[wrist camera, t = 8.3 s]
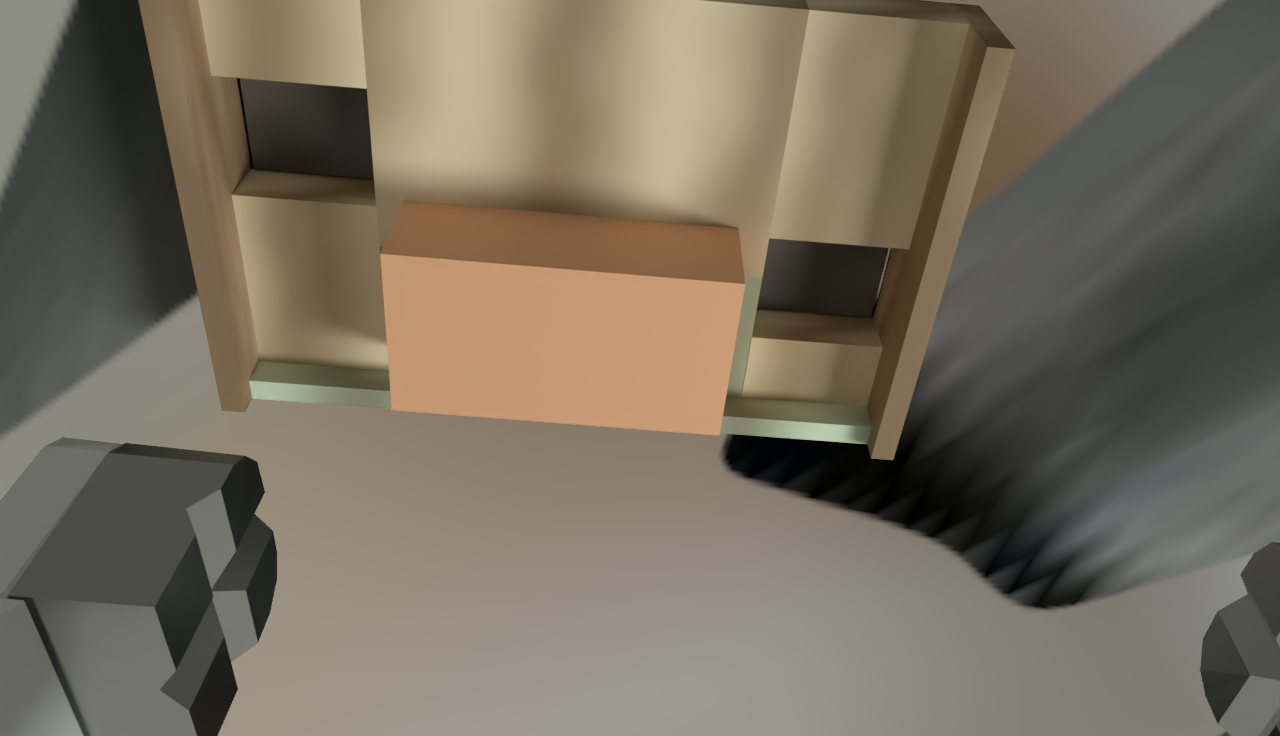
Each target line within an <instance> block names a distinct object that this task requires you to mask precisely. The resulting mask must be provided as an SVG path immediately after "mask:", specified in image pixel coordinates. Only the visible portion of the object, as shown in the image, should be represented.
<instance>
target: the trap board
mask: <svg viewBox="0 0 1280 736" xmlns="http://www.w3.org/2000/svg"><path fill="white" fill-rule="evenodd" d="M138 1H139V6H140V11H141V16H142V21H143V26H144V30H145V35H146V40H147V45H148V50H149V55H150V60H151V65H152V70H153V75H154V79H155V84H156V89H157V94H158V99H159V104H160V109H161V114H162V119H163V124H164V128H165V133H166V138H167V143H168V148H169V153H170V158H171V163H172V168H173V173H174V177H175V182H176V187H177V192H178V197H179V202H180V207H181V212H182V217H183V222H184V226H185V231H186V236H187V241H188V246H189V251H190V256H191V261H192V266H193V270H194V275H195V280H196V285H197V290H198V295H199V300H200V305H201V310H202V315H203V319H204V324H205V329H206V334H207V339H208V344H209V349H210V354H211V359H212V363H213V368H214V373H215V378H216V383H217V388H218V393H219V397H220V403H221V408H222V411H235V412H245V411H246V409H247V407H248V405H249V404H250V402H251V400H252V398H253V399H268V400H280V401H295V402H308V403H322V404H335V405H349V406H361V407H375V408H388V409H392V405H391V392H390V378H389V365H388V352H387V338H386V325H385V312H384V298H383V285H382V272H381V258H380V253H381V251H382V249H383V246H384V244H385V242H386V240H387V237H388V235H389V233H390V231H391V228H392V226H393V224H394V222H395V220H396V217H397V215H398V213H399V211H400V208H401V206H402V204H403V202H404V200H408V201H420V202H432V203H443V204H455V205H467V206H479V207H490V208H502V209H514V210H526V211H538V212H549V213H561V214H573V215H585V216H596V217H608V218H620V219H632V220H643V221H655V222H667V223H679V224H691V225H702V226H714V227H726V228H738V229H739V236H740V244H741V252H742V260H743V268H744V277H745V290H744V295H743V301H742V307H741V313H740V319H739V325H738V330H737V336H736V342H735V348H734V354H733V360H732V365H731V371H730V377H729V383H728V389H727V395H726V400H725V406H724V412H723V418H722V424H721V430H720V433H725V434H739V435H752V436H766V437H779V438H793V439H806V440H820V441H833V442H847V443H860V444H868V448H869V452H870V456H871V458H873V459H886V460H893V458H894V455H895V452H896V448H897V445H898V442H899V438H900V435H901V432H902V428H903V425H904V422H905V418H906V415H907V411H908V408H909V405H910V401H911V398H912V395H913V391H914V388H915V385H916V381H917V378H918V375H919V371H920V368H921V365H922V361H923V358H924V355H925V351H926V348H927V345H928V341H929V338H930V335H931V331H932V328H933V325H934V321H935V318H936V315H937V311H938V308H939V305H940V301H941V298H942V295H943V291H944V288H945V285H946V281H947V278H948V275H949V271H950V268H951V265H952V261H953V258H954V255H955V251H956V248H957V245H958V241H959V238H960V235H961V231H962V228H963V225H964V221H965V218H966V215H967V211H968V208H969V205H970V201H971V198H972V195H973V191H974V188H975V184H976V181H977V178H978V174H979V171H980V167H981V164H982V161H983V158H984V155H985V151H986V148H987V144H988V141H989V138H990V134H991V131H992V128H993V124H994V121H995V118H996V115H997V111H998V108H999V105H1000V101H1001V98H1002V94H1003V91H1004V88H1005V85H1006V81H1007V78H1008V75H1009V71H1010V67H1011V65H1012V61H1013V58H1014V55H1015V51H1016V49H1015V48H1014V46H1013V45H1012V44H1011V43H1010V42H1009V40H1008V39H1007V38H1006V37H1005V36H1004V34H1003V33H1002V32H1001V31H1000V30H999V29H998V27H997V26H996V25H995V24H994V22H992V20H991V19H990V18H989V17H988V16H987V14H986V13H985V12H984V11H983V9H982V8H981V7H980V6H976V5H965V4H954V3H943V2H931V1H920V0H919V1H918V0H138ZM238 78H240V83H241V90H242V96H243V103H244V109H245V116H246V122H247V129H248V135H249V142H250V148H251V155H252V161H253V168H254V169H252V168H251V162H250V155H249V149H248V142H247V136H246V130H245V123H244V117H243V110H242V104H241V97H240V91H239V84H238ZM888 248H891V250H890V254H889V258H888V262H887V266H886V270H885V274H884V278H883V282H882V286H881V289H880V293H879V297H878V301H877V305H876V309H875V312H874V316H873V317H871V315H872V311H873V307H874V303H875V299H876V295H877V291H878V287H879V283H880V279H881V275H882V272H883V268H884V263H885V259H886V256H887V252H888Z"/></svg>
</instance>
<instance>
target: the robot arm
mask: <svg viewBox="0 0 1280 736" xmlns="http://www.w3.org/2000/svg"><path fill="white" fill-rule="evenodd" d="M264 493H265V491H264V487H263V483H262V479H261V475H260V471H259V467H258V463H257V462H256V461H254V460H252V459H250V458H248V457H246V456H241V455H231V454H222V453H213V452H203V451H194V450H184V449H176V448H167V447H157V446H148V445H138V444H129V443H125V444H116V443H107V442H99V441H90V440H81V439H72V438H64V437H63V438H61V439H59V440H57V441H55V442H53V443H51V444H49V445H47V446H45V447H44V448H43V449H42V450H41V451H40V452H39V453H38V455H37V456H36V457H35V458H34V460H33V461H32V462H31V463H30V465H29V466H28V467H27V468H26V470H25V471H24V472H23V474H22V475H21V476H20V477H19V479H18V480H17V481H16V482H15V484H14V485H13V486H12V487H11V488H10V490H9V491H8V492H7V493H6V495H5V496H4V497H3V498H2V500H1V501H0V736H218V733H219V731H220V729H221V726H222V724H223V722H224V720H225V717H226V715H227V713H228V711H229V708H230V706H231V704H232V701H233V699H234V697H235V695H236V692H237V690H238V688H237V683H236V680H235V676H234V672H233V668H232V664H231V662H232V661H234V660H235V659H236V658H238V657H239V656H240V655H242V654H243V653H244V652H246V651H247V650H249V649H250V648H251V647H253V646H254V645H255V644H257V643H258V641H259V639H260V636H261V634H262V631H263V629H264V627H265V624H266V622H267V619H268V617H269V614H270V610H271V606H272V601H273V596H274V591H275V586H276V582H277V550H276V544H275V539H274V534H273V531H272V530H271V529H270V528H269V527H268V526H267V525H266V524H265V523H264V522H263V521H262V520H260V519H259V518H258V517H257V516H256V515H255V514H254V513H255V511H256V509H257V507H258V505H259V503H260V501H261V499H262V497H263V495H264ZM1241 577H1242V580H1243V583H1244V585H1245V588H1246V590H1247V593H1248V594H1247V595H1246V596H1244V597H1242V598H1240V599H1239V600H1237V601H1235V602H1233V603H1231V604H1230V605H1228V606H1226V607H1224V608H1223V609H1221V610H1219V611H1218V612H1217V614H1216V615H1215V617H1214V619H1213V621H1212V623H1211V625H1210V627H1209V629H1208V630H1207V632H1206V634H1205V636H1204V638H1203V645H1202V656H1201V667H1200V672H1201V676H1202V681H1203V686H1204V691H1205V696H1206V698H1207V701H1208V703H1209V705H1210V707H1211V710H1212V712H1213V714H1214V716H1215V719H1216V721H1217V723H1218V724H1219V725H1220V726H1221V727H1222V728H1223V729H1224V730H1225V731H1227V732H1228V733H1229V734H1230V735H1231V736H1280V543H1273V542H1272V543H1270V544H1268V545H1267V546H1265V547H1264V548H1262V549H1260V550H1259V551H1257V552H1255V553H1254V554H1253V556H1252V558H1251V559H1250V561H1249V562H1248V564H1247V565H1246V567H1245V568H1244V570H1243V571H1242V573H1241Z"/></svg>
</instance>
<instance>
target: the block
mask: <svg viewBox="0 0 1280 736" xmlns="http://www.w3.org/2000/svg"><path fill="white" fill-rule="evenodd" d="M380 258H381V272H382V285H383V298H384V312H385V325H386V338H387V352H388V365H389V378H390V392H391V405H392V410H397V411H410V412H423V413H436V414H450V415H462V416H474V417H487V418H500V419H513V420H526V421H539V422H551V423H552V422H553V423H564V424H577V425H590V426H603V427H617V428H629V429H642V430H654V431H667V432H681V433H693V434H706V435H720V430H721V424H722V418H723V412H724V406H725V400H726V395H727V389H728V383H729V377H730V371H731V365H732V360H733V354H734V348H735V342H736V336H737V330H738V325H739V319H740V313H741V307H742V301H743V295H744V290H745V277H744V268H743V260H742V252H741V244H740V236H739V229H738V228H726V227H714V226H702V225H691V224H679V223H667V222H655V221H643V220H632V219H620V218H608V217H596V216H585V215H573V214H561V213H549V212H538V211H526V210H514V209H502V208H490V207H479V206H467V205H455V204H443V203H432V202H420V201H408V200H404V202H403V204H402V206H401V208H400V211H399V213H398V215H397V217H396V220H395V222H394V224H393V226H392V228H391V231H390V233H389V235H388V237H387V240H386V242H385V244H384V246H383V249H382V251H381V253H380Z"/></svg>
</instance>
